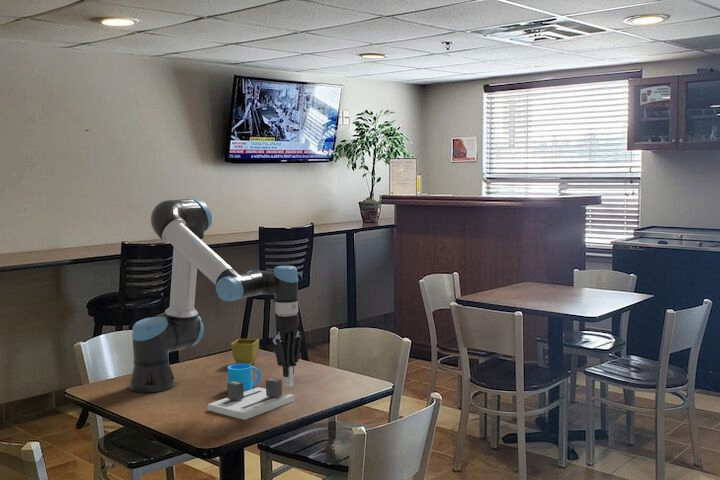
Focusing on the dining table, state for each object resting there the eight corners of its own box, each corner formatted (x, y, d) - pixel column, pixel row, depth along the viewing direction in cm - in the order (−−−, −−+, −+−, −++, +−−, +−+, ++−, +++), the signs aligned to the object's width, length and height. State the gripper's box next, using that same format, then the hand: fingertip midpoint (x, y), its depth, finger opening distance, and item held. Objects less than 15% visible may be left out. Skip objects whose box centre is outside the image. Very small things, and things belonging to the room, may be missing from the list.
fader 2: (266, 395, 236) (265, 380, 236) (272, 393, 239) (272, 377, 238) (275, 397, 234) (275, 381, 233) (282, 395, 236) (281, 379, 236)
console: (208, 410, 230) (207, 403, 230) (258, 393, 248) (258, 386, 247) (244, 419, 220) (244, 412, 220) (294, 401, 238) (294, 394, 238)
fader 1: (227, 398, 234) (227, 382, 233) (234, 396, 236) (234, 380, 236) (236, 400, 231) (236, 384, 231) (243, 398, 234) (243, 382, 233)
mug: (235, 395, 246) (234, 371, 245) (223, 390, 252) (223, 366, 251) (266, 388, 253) (266, 364, 252) (254, 383, 259) (254, 360, 259)
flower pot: (231, 366, 282) (230, 343, 282) (238, 361, 291) (238, 338, 290) (253, 367, 281) (252, 344, 280) (260, 361, 290) (259, 338, 289)
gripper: (281, 318, 232) (283, 392, 234) (308, 312, 243) (310, 382, 245) (264, 316, 237) (266, 388, 239) (291, 309, 247) (293, 379, 249)
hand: (288, 385), depth 242 cm, fingers closed
